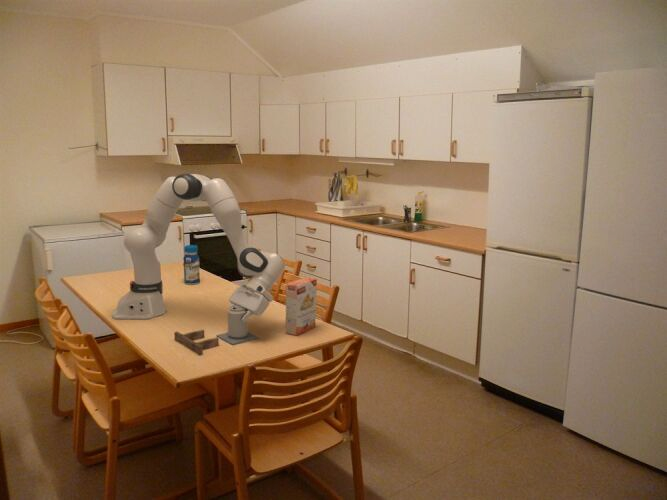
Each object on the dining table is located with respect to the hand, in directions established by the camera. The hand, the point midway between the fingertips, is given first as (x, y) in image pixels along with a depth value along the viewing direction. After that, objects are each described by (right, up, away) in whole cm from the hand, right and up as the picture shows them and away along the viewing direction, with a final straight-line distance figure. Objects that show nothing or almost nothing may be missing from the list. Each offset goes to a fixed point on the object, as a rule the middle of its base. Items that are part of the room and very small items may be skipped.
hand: (236, 317), depth 221 cm
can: (0, -8, +2) cm, 8 cm away
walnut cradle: (-12, -9, -5) cm, 16 cm away
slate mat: (0, -8, +2) cm, 8 cm away
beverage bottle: (-37, +9, +80) cm, 88 cm away
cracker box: (+25, -7, +12) cm, 28 cm away
